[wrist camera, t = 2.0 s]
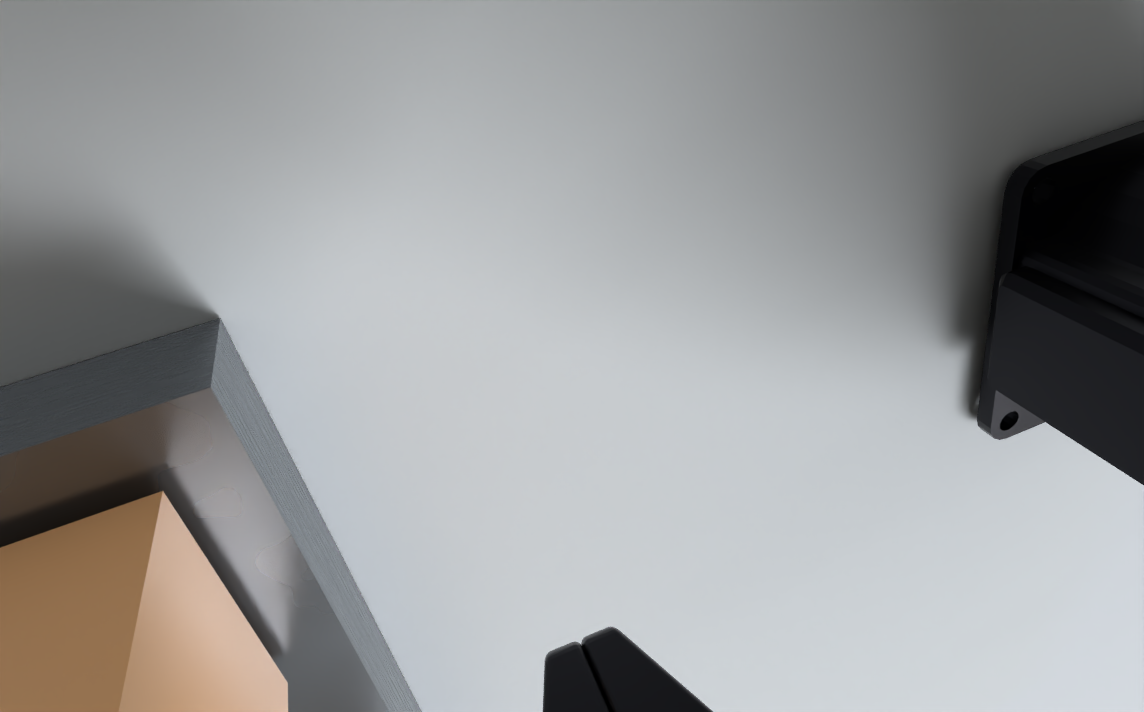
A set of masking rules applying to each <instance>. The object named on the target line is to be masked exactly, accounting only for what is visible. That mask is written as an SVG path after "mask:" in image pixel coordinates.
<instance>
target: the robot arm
mask: <svg viewBox="0 0 1144 712" xmlns="http://www.w3.org/2000/svg"><path fill="white" fill-rule="evenodd" d="M1034 188H1035V189H1034ZM977 422H978V426H979V427H980V428H981V429H982V430H983V431H985V432H986V433H987V434H989V435H990V436H992V437H993V438H994V439H999V440H1001V439H1005V438H1008V437H1010V436H1013V435H1015V434H1018V433H1020V432H1022V431H1025V430H1027V429H1030V428H1032V427H1034V426H1037V425H1039V424H1042V423H1044V422H1046V423H1048V424H1049V425H1051V426H1052V427H1054V428H1056V429H1057V430H1059V431H1060V432H1062V433H1063V434H1065V435H1066V436H1068V437H1070V438H1071V439H1073V440H1074V441H1076V442H1077V443H1079V444H1080V445H1082V446H1084V447H1085V448H1087V449H1088V450H1090V451H1091V452H1093V453H1094V454H1096V455H1097V456H1099V457H1101V458H1102V459H1104V460H1105V461H1107V462H1108V463H1110V464H1111V465H1113V466H1115V467H1116V468H1118V469H1119V470H1121V471H1122V472H1124V473H1125V474H1127V475H1129V476H1130V477H1132V478H1133V479H1135V480H1136V481H1138V482H1139V483H1141V484H1143V485H1144V121H1141V122H1139V123H1136V124H1133V125H1130V126H1127V127H1124V128H1121V129H1118V130H1115V131H1112V132H1109V133H1106V134H1103V135H1101V136H1098V137H1095V138H1092V139H1089V140H1086V141H1083V142H1080V143H1077V144H1074V145H1071V146H1068V147H1066V148H1063V149H1060V150H1057V151H1054V152H1051V153H1048V154H1045V155H1042V156H1039V157H1036V158H1033V159H1030V160H1028V161H1027V162H1025V163H1023V164H1021V165H1020V166H1019V167H1018V168H1017V169H1016V170H1015V171H1014V172H1013V174H1012V175H1011V177H1010V179H1009V180H1008V182H1007V185H1006V189H1005V192H1004V200H1003V209H1002V217H1001V225H1000V234H999V242H998V250H997V259H996V267H995V275H994V283H993V292H992V300H991V308H990V317H989V325H988V333H987V342H986V350H985V358H984V367H983V375H982V383H981V391H980V400H979V408H978V416H977ZM581 644H582V646H581ZM581 644H580V643H578V642H572V643H569V644H567V645H564V646H562V647H560V648H557V649H555V650H552V651H550V652H549V653H548V654H547V655H546V658H545V670H544V696H543V712H713V711H712V710H711V709H709V708H708V707H707V706H706V705H705V704H704V703H702V702H701V701H700V700H699V699H698V698H697V697H696V696H694V695H693V694H692V693H691V692H690V691H689V690H687V689H686V688H685V687H684V686H683V685H682V684H681V683H679V682H678V681H677V680H676V679H675V678H674V677H673V676H671V675H670V674H669V673H668V672H667V671H666V670H664V669H663V668H662V667H661V666H660V665H659V664H658V663H656V662H655V661H654V660H653V659H652V658H651V657H649V656H648V655H647V654H646V653H645V652H644V651H643V650H641V649H640V648H639V647H638V646H637V645H636V644H634V643H633V642H632V641H631V640H630V639H629V638H628V637H626V636H625V635H624V634H623V633H622V632H621V631H619V630H618V629H616V628H614V627H607V628H605V629H603V630H600V631H598V632H595V633H593V634H591V635H588V636H586V637H584V638H583V640H582V643H581Z"/></svg>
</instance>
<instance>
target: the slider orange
mask: <svg viewBox="0 0 1144 712" xmlns="http://www.w3.org/2000/svg"><path fill="white" fill-rule="evenodd" d="M0 712H288V682H287V681H286V679H285V678H284V676H283V675H282V673H281V672H280V670H279V669H278V667H277V666H276V664H275V662H274V661H273V659H272V658H271V656H270V655H269V653H268V652H267V650H266V649H265V647H264V646H263V644H262V642H261V641H260V639H259V638H258V636H257V635H256V633H255V632H254V630H253V629H252V627H251V626H250V624H249V622H248V621H247V619H246V618H245V616H244V615H243V613H242V612H241V610H240V609H239V607H238V606H237V604H236V602H235V601H234V599H233V598H232V596H231V595H230V593H229V592H228V590H227V589H226V587H225V586H224V584H223V583H222V581H221V579H220V578H219V576H218V575H217V573H216V572H215V570H214V569H213V567H212V566H211V564H210V563H209V561H208V559H207V558H206V556H205V555H204V553H203V552H202V550H201V549H200V547H199V546H198V544H197V543H196V541H195V539H194V538H193V536H192V535H191V533H190V532H189V530H188V529H187V527H186V526H185V524H184V523H183V521H182V519H181V518H180V516H179V515H178V513H177V512H176V510H175V509H174V507H173V506H172V504H171V503H170V501H169V499H168V498H167V496H166V495H165V493H164V492H163V491H161V492H158V493H155V494H152V495H149V496H147V497H144V498H141V499H138V500H135V501H132V502H129V503H127V504H124V505H121V506H118V507H115V508H112V509H109V510H107V511H104V512H101V513H98V514H95V515H92V516H89V517H87V518H84V519H81V520H78V521H75V522H72V523H69V524H67V525H64V526H61V527H58V528H55V529H52V530H49V531H47V532H44V533H41V534H38V535H35V536H32V537H29V538H27V539H24V540H21V541H18V542H15V543H12V544H9V545H7V546H4V547H1V548H0Z"/></svg>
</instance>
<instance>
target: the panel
mask: <svg viewBox="0 0 1144 712" xmlns="http://www.w3.org/2000/svg"><path fill="white" fill-rule="evenodd" d="M161 491H163V492H164V493H165V495H166V496H167V498H168V499H169V501H170V503H171V504H172V506H173V507H174V509H175V510H176V512H177V513H178V515H179V516H180V518H181V519H182V521H183V523H184V524H185V526H186V527H187V529H188V530H189V532H190V533H191V535H192V536H193V538H194V539H195V541H196V543H197V544H198V546H199V547H200V549H201V550H202V552H203V553H204V555H205V556H206V558H207V559H208V561H209V563H210V564H211V566H212V567H213V569H214V570H215V572H216V573H217V575H218V576H219V578H220V579H221V581H222V583H223V584H224V586H225V587H226V589H227V590H228V592H229V593H230V595H231V596H232V598H233V599H234V601H235V602H236V604H237V606H238V607H239V609H240V610H241V612H242V613H243V615H244V616H245V618H246V619H247V621H248V622H249V624H250V626H251V627H252V629H253V630H254V632H255V633H256V635H257V636H258V638H259V639H260V641H261V642H262V644H263V646H264V647H265V649H266V650H267V652H268V653H269V655H270V656H271V658H272V659H273V661H274V662H275V664H276V666H277V667H278V669H279V670H280V672H281V673H282V675H283V676H284V678H285V679H286V681H287V682H288V712H421V710H420V708H419V706H418V704H417V702H416V700H415V698H414V696H413V694H412V692H411V690H410V689H409V687H408V685H407V683H406V681H405V679H404V677H403V675H402V673H401V671H400V669H399V667H398V665H397V663H396V661H395V659H394V657H393V655H392V653H391V651H390V649H389V647H388V645H387V644H386V642H385V640H384V638H383V636H382V634H381V632H380V630H379V628H378V626H377V624H376V622H375V620H374V618H373V616H372V614H371V612H370V610H369V608H368V606H367V604H366V602H365V600H364V598H363V597H362V595H361V593H360V591H359V589H358V587H357V585H356V583H355V581H354V579H353V577H352V575H351V573H350V571H349V569H348V567H347V565H346V563H345V561H344V559H343V557H342V555H341V553H340V552H339V550H338V548H337V546H336V544H335V542H334V540H333V538H332V536H331V534H330V532H329V530H328V528H327V526H326V524H325V522H324V520H323V518H322V516H321V514H320V512H319V510H318V508H317V507H316V505H315V503H314V501H313V499H312V497H311V495H310V493H309V491H308V489H307V487H306V485H305V483H304V481H303V479H302V477H301V475H300V473H299V471H298V469H297V467H296V465H295V463H294V462H293V460H292V458H291V456H290V454H289V452H288V450H287V448H286V446H285V444H284V442H283V440H282V438H281V436H280V434H279V432H278V430H277V428H276V426H275V424H274V422H273V420H272V418H271V417H270V415H269V413H268V411H267V409H266V407H265V405H264V403H263V401H262V399H261V397H260V395H259V393H258V391H257V389H256V387H255V385H254V383H253V381H252V379H251V377H250V375H249V373H248V372H247V370H246V368H245V366H244V364H243V362H242V360H241V358H240V356H239V354H238V352H237V350H236V348H235V346H234V344H233V342H232V340H231V338H230V336H229V334H228V332H227V330H226V328H225V327H224V325H223V323H222V321H221V319H217V320H213V321H210V322H207V323H204V324H201V325H198V326H194V327H191V328H188V329H185V330H182V331H179V332H175V333H172V334H169V335H166V336H163V337H160V338H156V339H153V340H150V341H147V342H144V343H140V344H137V345H134V346H131V347H128V348H125V349H121V350H118V351H115V352H112V353H109V354H106V355H102V356H99V357H96V358H93V359H90V360H87V361H83V362H80V363H77V364H74V365H71V366H68V367H64V368H61V369H58V370H55V371H52V372H49V373H45V374H42V375H39V376H36V377H33V378H30V379H26V380H23V381H20V382H17V383H14V384H11V385H7V386H4V387H1V388H0V548H1V547H4V546H7V545H9V544H12V543H15V542H18V541H21V540H24V539H27V538H29V537H32V536H35V535H38V534H41V533H44V532H47V531H49V530H52V529H55V528H58V527H61V526H64V525H67V524H69V523H72V522H75V521H78V520H81V519H84V518H87V517H89V516H92V515H95V514H98V513H101V512H104V511H107V510H109V509H112V508H115V507H118V506H121V505H124V504H127V503H129V502H132V501H135V500H138V499H141V498H144V497H147V496H149V495H152V494H155V493H158V492H161Z"/></svg>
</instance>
